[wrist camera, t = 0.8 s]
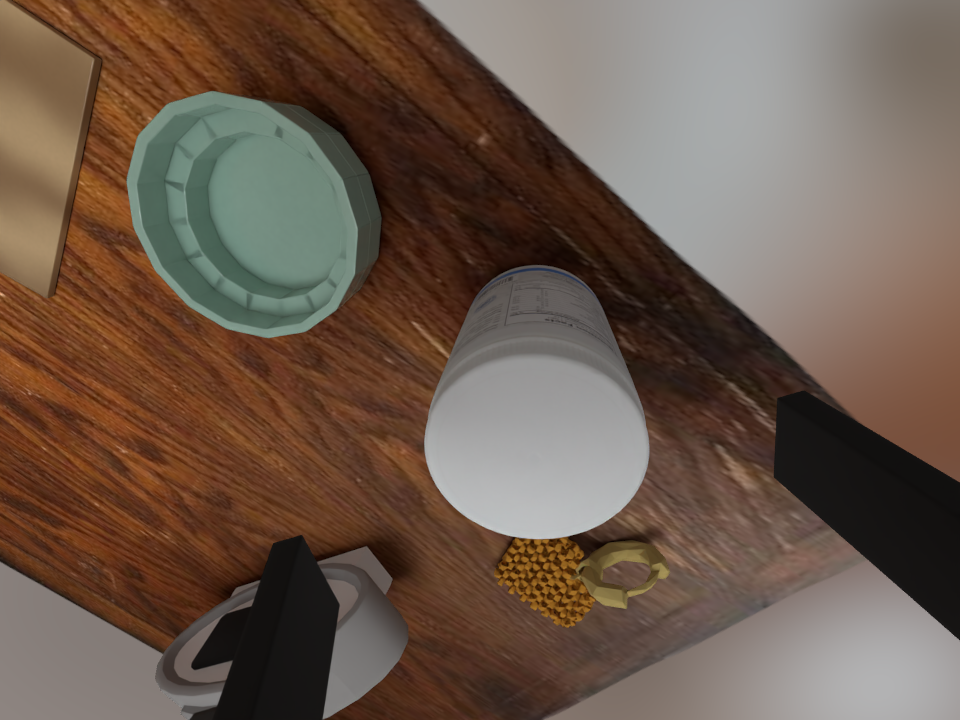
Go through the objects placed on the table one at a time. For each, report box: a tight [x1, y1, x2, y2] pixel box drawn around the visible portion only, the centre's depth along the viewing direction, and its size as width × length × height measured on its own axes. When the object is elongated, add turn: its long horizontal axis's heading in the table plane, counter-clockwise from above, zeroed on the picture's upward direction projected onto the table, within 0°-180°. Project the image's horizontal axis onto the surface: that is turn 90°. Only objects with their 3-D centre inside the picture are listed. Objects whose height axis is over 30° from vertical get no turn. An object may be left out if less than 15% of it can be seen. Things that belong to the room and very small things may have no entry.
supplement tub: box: [424, 265, 649, 539], centre depth 26 cm, size 10×10×15 cm
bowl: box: [127, 91, 382, 338], centre depth 28 cm, size 13×13×5 cm
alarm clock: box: [155, 546, 408, 720], centre depth 41 cm, size 23×6×13 cm, turn 117°
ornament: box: [494, 537, 670, 628], centre depth 39 cm, size 7×10×15 cm
